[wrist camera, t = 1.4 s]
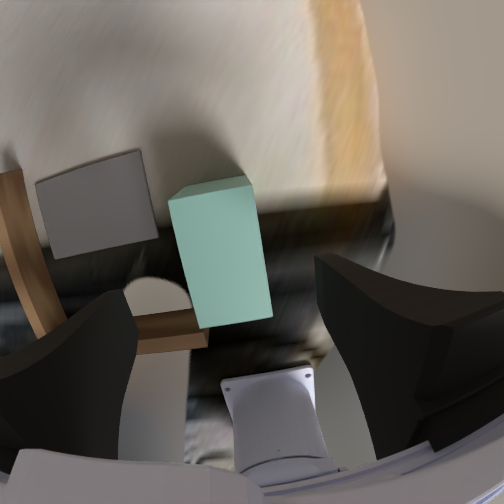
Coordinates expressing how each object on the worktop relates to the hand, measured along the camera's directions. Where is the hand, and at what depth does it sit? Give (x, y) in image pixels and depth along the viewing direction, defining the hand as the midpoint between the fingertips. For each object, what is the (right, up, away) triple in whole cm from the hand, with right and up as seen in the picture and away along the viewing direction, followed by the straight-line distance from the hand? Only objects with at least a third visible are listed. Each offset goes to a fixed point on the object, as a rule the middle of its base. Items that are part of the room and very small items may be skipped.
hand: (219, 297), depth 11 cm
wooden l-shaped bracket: (-10, +2, +9) cm, 14 cm away
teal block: (-1, +3, +10) cm, 10 cm away
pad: (-10, +5, +8) cm, 14 cm away
